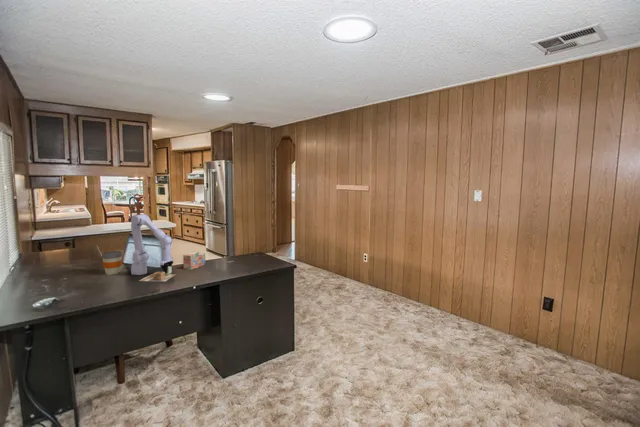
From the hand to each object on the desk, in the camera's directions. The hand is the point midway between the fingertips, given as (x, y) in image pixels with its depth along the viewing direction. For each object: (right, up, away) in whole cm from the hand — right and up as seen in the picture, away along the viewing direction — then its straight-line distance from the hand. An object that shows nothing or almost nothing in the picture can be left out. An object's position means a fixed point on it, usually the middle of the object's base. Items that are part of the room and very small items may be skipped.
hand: (167, 272), depth 228 cm
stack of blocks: (+10, -1, +26) cm, 28 cm away
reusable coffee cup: (-44, -2, +8) cm, 45 cm away
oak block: (-1, -3, -9) cm, 9 cm away
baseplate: (-4, -4, -5) cm, 7 cm away
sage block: (0, -1, 0) cm, 1 cm away
